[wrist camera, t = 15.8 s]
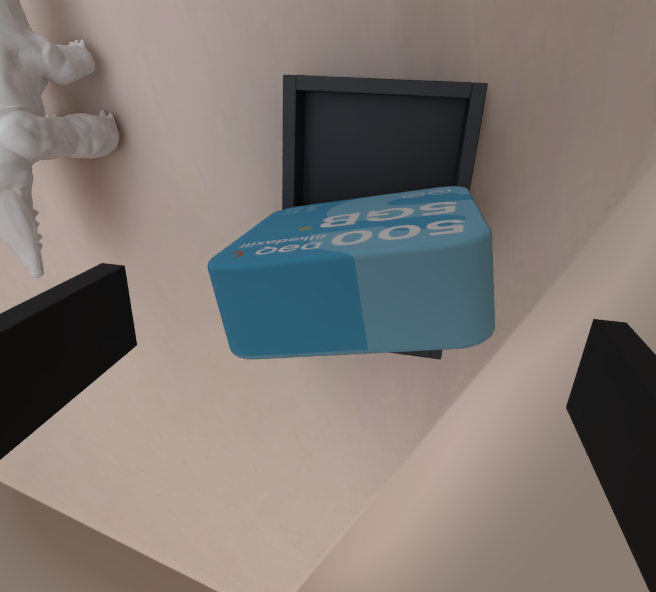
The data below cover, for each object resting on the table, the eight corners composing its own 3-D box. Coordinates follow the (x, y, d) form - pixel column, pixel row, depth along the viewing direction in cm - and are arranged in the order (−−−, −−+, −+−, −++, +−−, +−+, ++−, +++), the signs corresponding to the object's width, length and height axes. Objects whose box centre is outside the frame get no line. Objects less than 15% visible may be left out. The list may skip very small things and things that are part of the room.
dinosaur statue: (76, 243, 37) (-52, 294, 27) (-24, -131, 28) (-274, -263, 18) (151, 244, 36) (45, 298, 26) (72, -147, 27) (-140, -300, 16)
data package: (466, 182, 27) (497, 236, 16) (470, 255, 28) (501, 349, 17) (276, 208, 29) (192, 269, 19) (289, 273, 31) (219, 363, 20)
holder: (481, 85, 27) (488, 83, 24) (439, 339, 34) (440, 360, 31) (296, 77, 29) (282, 74, 26) (292, 320, 36) (281, 338, 33)
